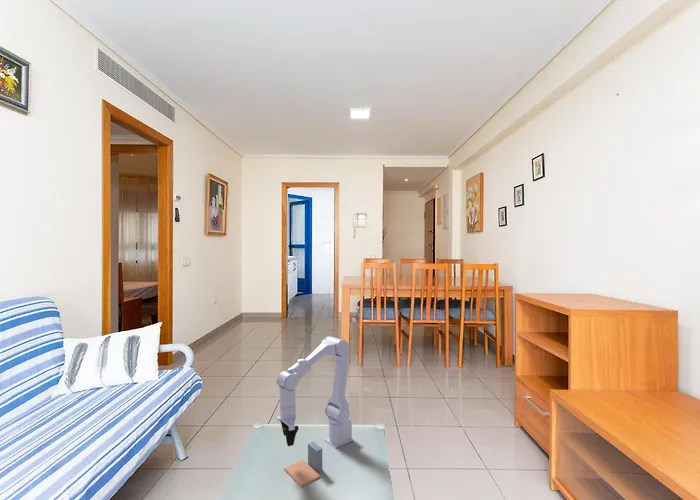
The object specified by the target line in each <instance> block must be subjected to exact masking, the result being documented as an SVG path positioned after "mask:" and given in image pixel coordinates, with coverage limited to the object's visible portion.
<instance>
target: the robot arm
mask: <svg viewBox="0 0 700 500" xmlns="http://www.w3.org/2000/svg"><path fill="white" fill-rule="evenodd" d="M349 351H350V343H348V341H347V340H346V339H341V338H338V337H334V336H332V335H327V336H326V337H325V338H324V339H322V340H321V343H320V345H319V346H317V347H316V348H315V350H313V351H312V352H311V353H310V354H309V355H308V356H307V357H305V358H300V359H298V360H297V361H296V363H294V364H293V365H291V367H289V368H288V369H287V370H283V371H282V372H280V373H279V374H278V375H277V378H276V380H275V381H276V384H277V385H278V390H279V406H280V407H279V412H280V414H279V415H277V416H276V420H277V421H280V424H281V430H282V433H283V436H285V440H286V441H285V442H286V445H287V447H292V446H294V444H295V441H296V440H295V439H296V436H297V433H298V431H299V426H298V425H295V423H296V419H297V412H296V411H297V410H296V408H297V407H296V388H297V386H298V385H299V383H300V381H301V380H302V379H303V377H305V376H306V375H308V373H309V372H311V371H312V366H313V365H314V364H316V363H317V362H318V361H320V360H321V359H323V358H324V357H325V356H327V355H328V356H331V355H332V356H333V357H334V358H335V366H334V367H335V368H334V374H333V375H334V377H333V385H332V393H331V395H332V396H331V397H329V398H327V403H326V404H325V405H326V406H325V408H324V413H325V415H326V416H327V420H328V437H327V438H326V437H325V438H324V441H325V442H326V443H328V445H331V447H333V448H334V449H336V448H339V447H342V446H344V445H346V444H348V443H350V442H352V441H354V438H353V432H352V431H353V425H352V421H351V418H350V416H351V415H350V404H349V401H348V400H347V399H346V391H347V390H346V389H347V382H348V372H349V363H350V352H349Z"/></svg>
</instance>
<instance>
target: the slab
mask: <svg viewBox="0 0 700 500" xmlns="http://www.w3.org/2000/svg"><path fill="white" fill-rule="evenodd" d="M307 464H308V465H309V466H310V467H311V468H313V469H314V470H315V471H316V472H317V473H319V472H321V471H323V448H322V447H321V446H320V445H318V444H317V442H315V441H311V442H309V443H308V444H307Z"/></svg>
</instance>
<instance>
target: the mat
mask: <svg viewBox="0 0 700 500" xmlns="http://www.w3.org/2000/svg"><path fill="white" fill-rule="evenodd" d="M283 469H284V472H286V473H287V474H288V475H289V476H290V478H292V479H293V480H294V481H295V483H296V484H297V485H299V486H300V487H301V486H302V487H303V485H304V486H305V485H308V484H309V483H311V482H314V481H317V480H318V479H319V478H321V475H320V474H319V472H316V471H315V470H314V469H313V468H311V467H310V466H309V465H308V462H306V461H305V460H304V459H301V460H299V461H297V462H295V463H292V464H290V465H288V466H286V467H284V468H283Z"/></svg>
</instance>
